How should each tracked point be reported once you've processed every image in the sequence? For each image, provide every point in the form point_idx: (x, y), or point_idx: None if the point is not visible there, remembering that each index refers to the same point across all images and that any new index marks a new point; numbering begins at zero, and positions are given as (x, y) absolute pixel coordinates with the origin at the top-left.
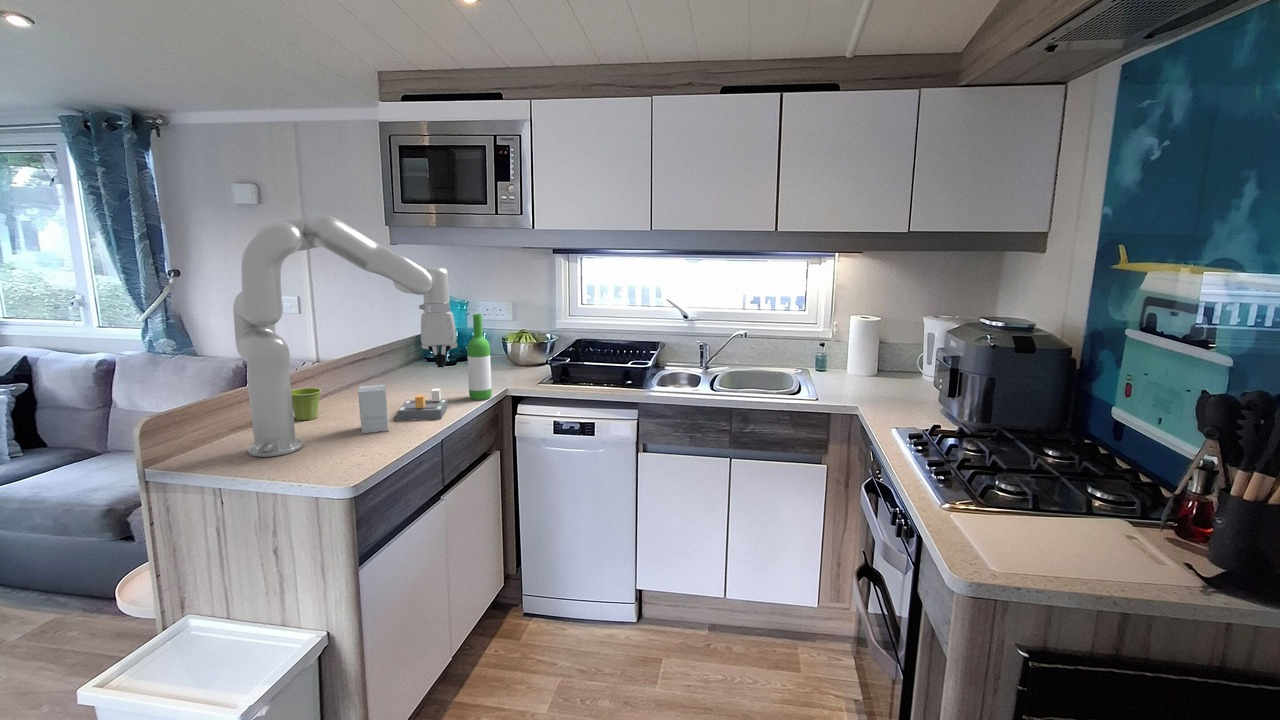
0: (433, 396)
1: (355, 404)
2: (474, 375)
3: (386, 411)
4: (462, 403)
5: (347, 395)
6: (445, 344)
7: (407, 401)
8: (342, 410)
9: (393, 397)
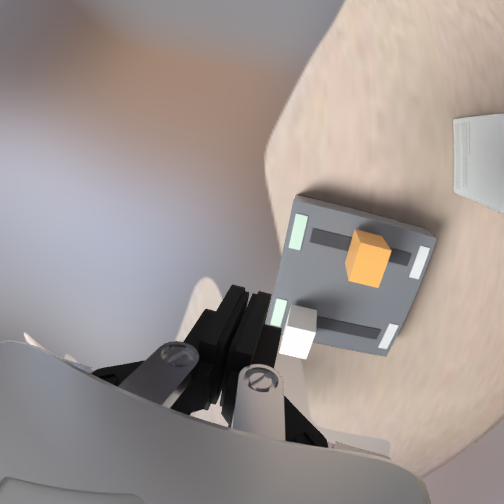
0: (309, 318)
1: (464, 397)
2: None
3: (484, 115)
4: None
5: (448, 445)
6: (73, 368)
7: (387, 341)
8: (499, 360)
9: (382, 430)
